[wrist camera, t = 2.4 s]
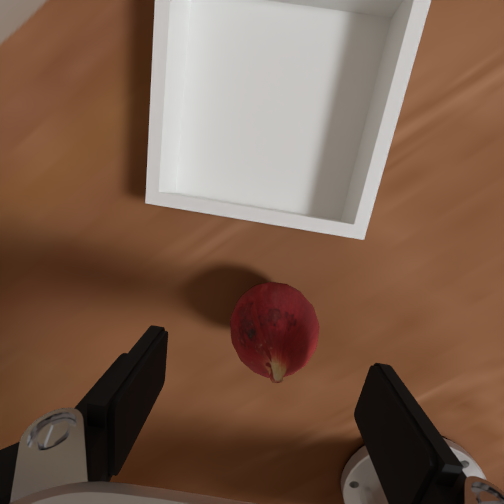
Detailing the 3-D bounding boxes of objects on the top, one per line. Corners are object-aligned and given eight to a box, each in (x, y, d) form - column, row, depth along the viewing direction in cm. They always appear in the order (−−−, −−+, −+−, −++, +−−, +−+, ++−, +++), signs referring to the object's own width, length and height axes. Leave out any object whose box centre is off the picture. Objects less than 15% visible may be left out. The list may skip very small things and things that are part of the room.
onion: (223, 298, 19) (193, 366, 12) (275, 254, 18) (280, 296, 10) (270, 345, 20) (271, 439, 12) (322, 305, 19) (360, 381, 11)
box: (401, 13, 14) (443, -45, 11) (345, 231, 17) (363, 239, 14) (184, -17, 15) (158, -82, 11) (168, 201, 18) (145, 203, 14)
